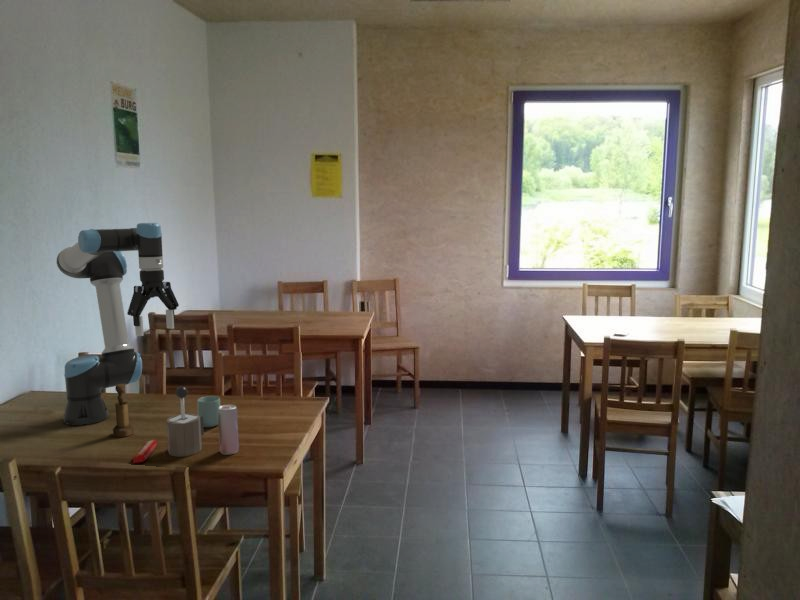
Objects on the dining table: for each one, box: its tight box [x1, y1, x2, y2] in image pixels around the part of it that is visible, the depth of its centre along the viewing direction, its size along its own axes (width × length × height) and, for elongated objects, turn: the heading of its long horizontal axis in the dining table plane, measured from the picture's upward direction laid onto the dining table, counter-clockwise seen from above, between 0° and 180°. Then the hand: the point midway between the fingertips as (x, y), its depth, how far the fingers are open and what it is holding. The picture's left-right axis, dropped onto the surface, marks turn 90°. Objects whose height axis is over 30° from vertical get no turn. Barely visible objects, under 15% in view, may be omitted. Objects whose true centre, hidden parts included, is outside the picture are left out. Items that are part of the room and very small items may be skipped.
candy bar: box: [132, 439, 158, 464], centre depth 203 cm, size 16×4×3 cm, turn 5°
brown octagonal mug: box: [165, 413, 205, 458], centre depth 207 cm, size 10×13×11 cm
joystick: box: [175, 386, 188, 420], centre depth 205 cm, size 7×7×19 cm
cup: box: [196, 395, 221, 428], centre depth 229 cm, size 8×8×10 cm
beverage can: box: [217, 404, 240, 456], centre depth 204 cm, size 6×6×15 cm
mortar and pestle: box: [112, 384, 134, 438], centre depth 221 cm, size 7×6×18 cm
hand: (155, 332), depth 214 cm, fingers open, 13 cm apart
